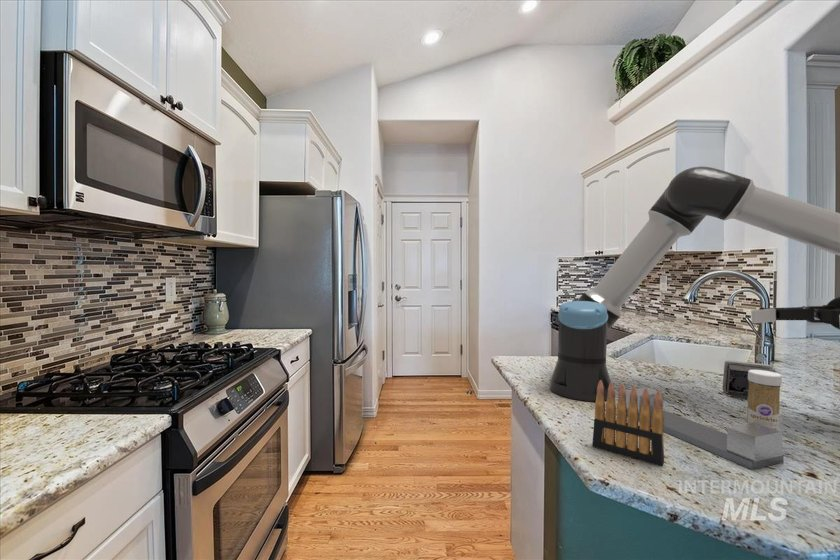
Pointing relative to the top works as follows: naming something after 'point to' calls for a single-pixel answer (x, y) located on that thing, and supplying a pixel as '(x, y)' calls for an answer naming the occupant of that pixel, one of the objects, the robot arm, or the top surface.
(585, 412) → the top surface
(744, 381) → the electrical switch
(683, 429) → the rail
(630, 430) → the ammunition clip
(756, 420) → the sprinkles bottle
